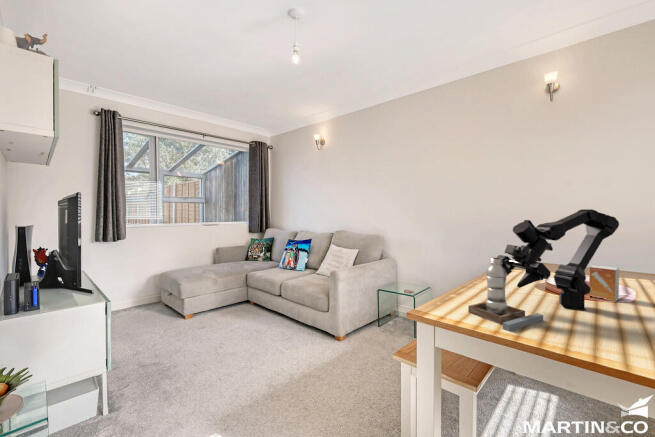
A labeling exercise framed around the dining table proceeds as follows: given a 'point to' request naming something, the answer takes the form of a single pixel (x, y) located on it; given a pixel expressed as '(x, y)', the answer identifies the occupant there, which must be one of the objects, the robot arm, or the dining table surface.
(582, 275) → the robot arm
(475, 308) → the brown square tray
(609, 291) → the small box
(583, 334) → the dining table surface
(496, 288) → the plastic bottle
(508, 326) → the door edge strip
